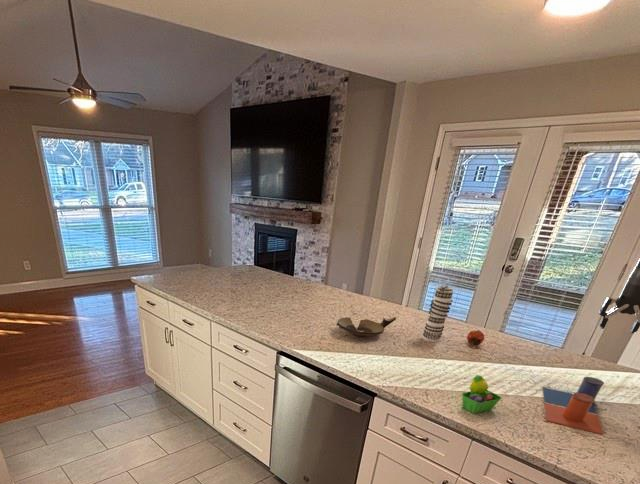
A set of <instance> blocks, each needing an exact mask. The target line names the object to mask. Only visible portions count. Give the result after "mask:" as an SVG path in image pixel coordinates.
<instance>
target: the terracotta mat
mask: <svg viewBox="0 0 640 484" xmlns="http://www.w3.org/2000/svg"><path fill="white" fill-rule="evenodd" d="M565 409H566V407H564V406H560V405H555V404H551V403H547V402H544V410H545V421H546V422H548V423H552V424H557V425H559V426H560V425H561V426H565V427H568V428H573V429H578V430H582V431H585V432H588V433H593V434H598V435H600V436H601V435H602V436H603V435H604V432H603V429H602V426H601V423H600V420H599V417H598V414H595V413H590V412H587V414H586V416H585V418H584V419H583V421H582V422H574V421H571V420H568V419H566V418H565V417H563V413H564V411H565Z"/></svg>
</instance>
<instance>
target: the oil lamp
mask: <svg viewBox="0 0 640 484" xmlns="http://www.w3.org/2000/svg"><path fill="white" fill-rule="evenodd" d="M396 319H397V317H396V316H393V317H391V318H383V319H382V322H381V323H380V322H377V321H373V320H371V319H368V318H365V319H361V320H360V321H359V324H358V326H357V327H356V326H355V324H354V323H353V321H352V318H351V317H350V316H349V317H341V318H339V319H338V320H337V323H335V324H336V326H338V327H339V329H342V330H344V331H345V332H348V333H349V334H351V335H355V336H358V337H372V336H373V337H374V336H377V335H380V334H383V333H384V332H385V329H386V328H387V327H388V326H390V324H393V322H395V320H396Z"/></svg>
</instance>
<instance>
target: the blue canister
mask: <svg viewBox="0 0 640 484" xmlns="http://www.w3.org/2000/svg"><path fill="white" fill-rule="evenodd" d="M604 384H605V382H604V381H603V380H601V379H599V378H596V377H592V376H584V377H583V379H582V381H581V383H580V385H579V386H578V389H577V390H576V392H575V393H583V394H586V395H589V396H591V397H593V398H594V399H595V400H596V398H597V396H598V394H599V393H600V391H601V389H602V387H603V386H604Z"/></svg>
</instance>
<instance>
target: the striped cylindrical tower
mask: <svg viewBox="0 0 640 484" xmlns="http://www.w3.org/2000/svg"><path fill="white" fill-rule="evenodd" d="M454 293H455V290H454V289H453V287H452V286H449V285H445V284H443V285H439V286H438V287H436V288H435V293H434V296H433V299H432V300H431V301H430V305H429V306H430V308H429V311H428V315H429V316H428V319H427V321H426V323H425V326H424V330H423V333H422V339H423V340H425V341H427V342H432V343H437V342H440V341H441V339H442V336H443V332H444V329H445V324H446V323H445V322H446V318H447V317H448V316H449V315H448V313H449V312H450V309H451V307H450V306H452V304H453V303H452V302H453V299H452V298H453V294H454Z"/></svg>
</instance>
